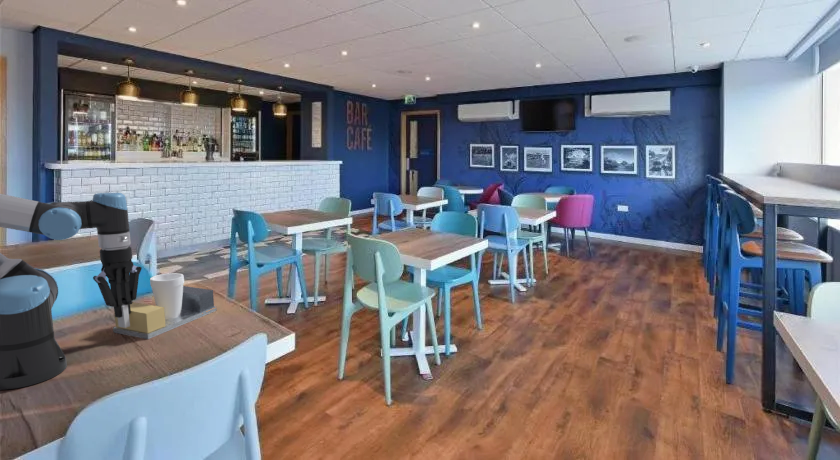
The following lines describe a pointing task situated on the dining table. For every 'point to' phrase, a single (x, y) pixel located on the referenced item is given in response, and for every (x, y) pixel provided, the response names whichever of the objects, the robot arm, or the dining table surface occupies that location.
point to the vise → (192, 309)
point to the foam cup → (168, 293)
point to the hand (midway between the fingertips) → (124, 326)
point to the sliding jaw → (145, 318)
